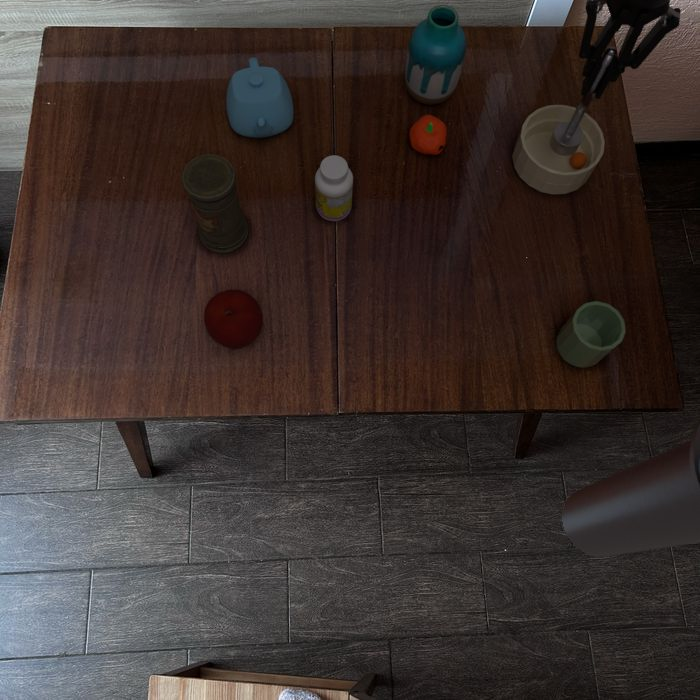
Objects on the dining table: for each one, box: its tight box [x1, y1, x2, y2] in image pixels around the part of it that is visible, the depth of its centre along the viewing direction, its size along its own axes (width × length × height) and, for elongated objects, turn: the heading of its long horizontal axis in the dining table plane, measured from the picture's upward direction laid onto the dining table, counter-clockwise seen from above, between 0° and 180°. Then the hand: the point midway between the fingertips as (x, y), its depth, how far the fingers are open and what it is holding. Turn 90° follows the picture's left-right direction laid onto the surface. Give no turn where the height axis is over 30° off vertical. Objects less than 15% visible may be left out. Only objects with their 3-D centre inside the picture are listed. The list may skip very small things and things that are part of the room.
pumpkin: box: [408, 114, 448, 156], centre depth 131 cm, size 7×8×6 cm
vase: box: [404, 4, 467, 106], centre depth 129 cm, size 11×11×19 cm
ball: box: [570, 152, 587, 168], centre depth 131 cm, size 3×3×3 cm
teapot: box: [225, 56, 295, 139], centre depth 129 cm, size 13×11×18 cm
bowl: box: [511, 104, 606, 195], centre depth 130 cm, size 15×15×7 cm
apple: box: [203, 288, 264, 350], centre depth 115 cm, size 10×10×10 cm
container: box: [181, 153, 249, 255], centre depth 117 cm, size 9×9×18 cm
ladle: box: [549, 45, 618, 156], centre depth 113 cm, size 5×5×23 cm
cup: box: [555, 300, 627, 368], centre depth 116 cm, size 8×9×9 cm
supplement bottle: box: [314, 154, 354, 222], centre depth 122 cm, size 7×7×13 cm
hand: (591, 90), depth 111 cm, fingers closed on ladle, 2 cm apart
